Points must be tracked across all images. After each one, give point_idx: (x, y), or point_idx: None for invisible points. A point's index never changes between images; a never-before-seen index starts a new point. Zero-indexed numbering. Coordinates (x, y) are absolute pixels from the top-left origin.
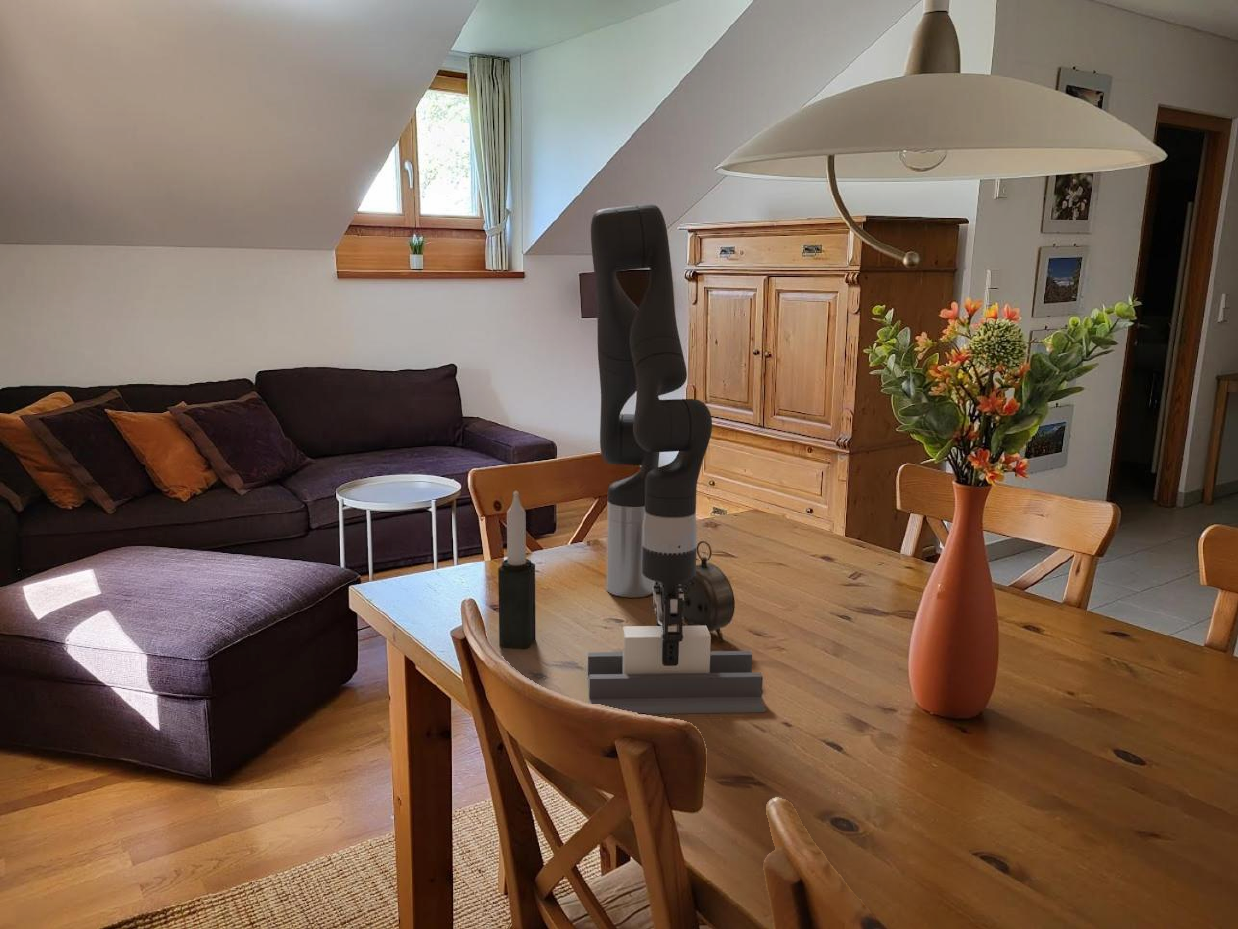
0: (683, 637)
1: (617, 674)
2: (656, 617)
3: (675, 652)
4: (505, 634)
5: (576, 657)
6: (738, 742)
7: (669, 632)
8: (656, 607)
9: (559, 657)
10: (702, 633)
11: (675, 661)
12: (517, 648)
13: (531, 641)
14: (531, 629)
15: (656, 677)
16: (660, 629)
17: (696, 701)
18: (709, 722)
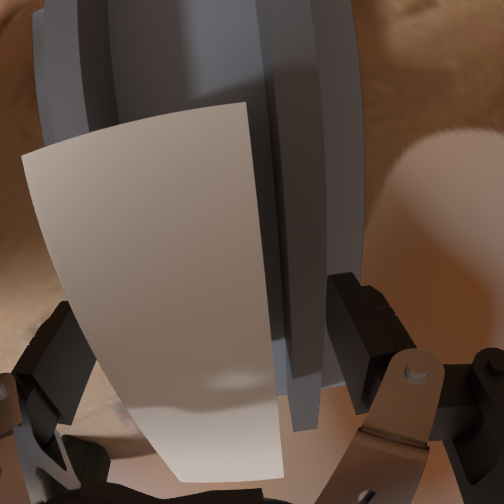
0: (268, 314)
1: (294, 394)
2: (63, 420)
3: (398, 322)
4: (106, 476)
5: (95, 401)
6: (478, 78)
7: (479, 431)
8: (79, 484)
9: (108, 420)
10: (183, 176)
11: (376, 292)
12: (106, 452)
13: (80, 442)
14: (75, 458)
15: (321, 308)
16: (173, 413)
17: (333, 152)
18: (402, 122)
